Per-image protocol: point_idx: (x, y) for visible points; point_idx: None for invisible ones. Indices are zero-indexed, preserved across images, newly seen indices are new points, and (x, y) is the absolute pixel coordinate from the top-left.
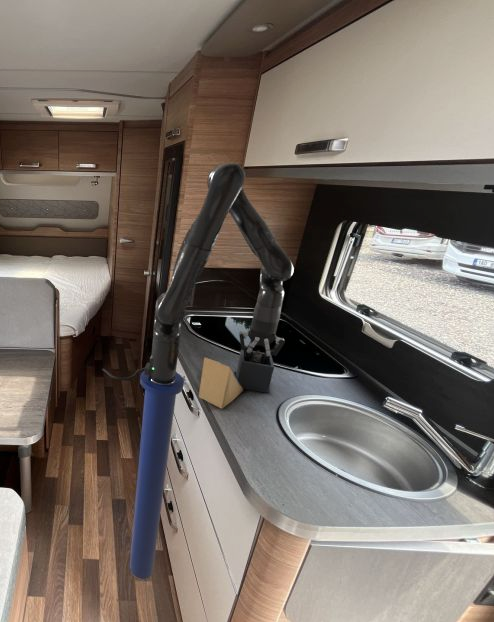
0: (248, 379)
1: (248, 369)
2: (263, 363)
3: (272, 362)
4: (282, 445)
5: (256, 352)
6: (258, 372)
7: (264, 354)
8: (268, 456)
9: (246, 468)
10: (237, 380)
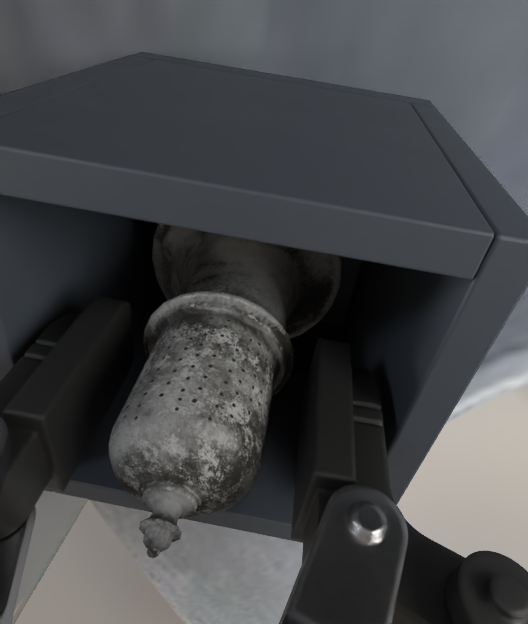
0: None
1: None
2: (302, 408)
3: (400, 487)
4: (293, 570)
5: (145, 499)
6: None
7: (315, 441)
8: (238, 589)
9: (177, 605)
10: (78, 510)
